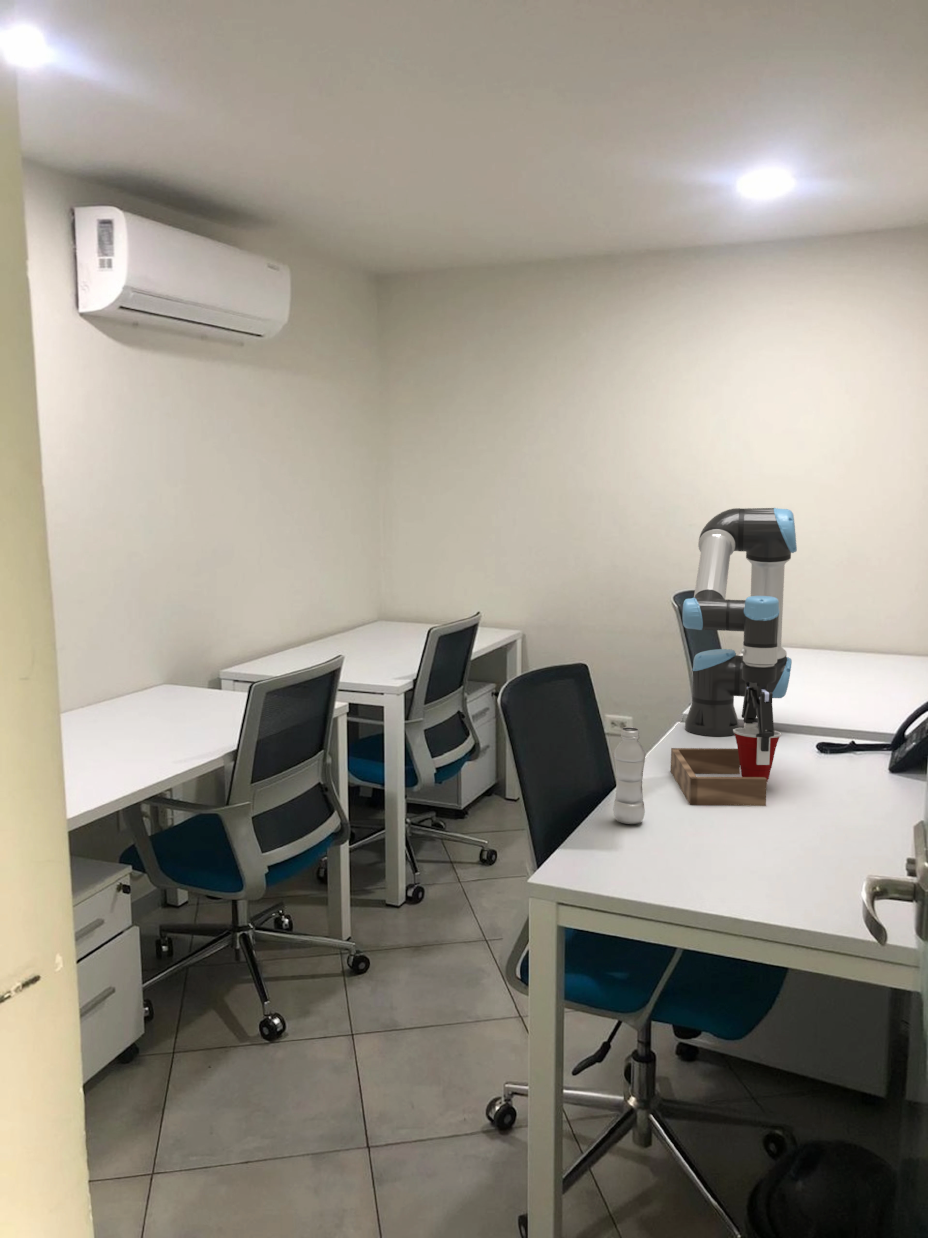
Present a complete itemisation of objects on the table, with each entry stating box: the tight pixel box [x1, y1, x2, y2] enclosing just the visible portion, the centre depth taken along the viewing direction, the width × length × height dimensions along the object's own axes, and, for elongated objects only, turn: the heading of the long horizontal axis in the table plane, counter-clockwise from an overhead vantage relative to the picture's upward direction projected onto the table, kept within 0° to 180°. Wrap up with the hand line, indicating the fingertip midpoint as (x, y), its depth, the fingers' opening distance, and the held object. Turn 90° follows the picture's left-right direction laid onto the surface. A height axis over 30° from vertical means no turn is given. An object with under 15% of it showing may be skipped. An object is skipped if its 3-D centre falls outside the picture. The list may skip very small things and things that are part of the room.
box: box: [670, 747, 768, 807], centre depth 221 cm, size 25×16×6 cm, turn 178°
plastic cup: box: [733, 727, 782, 783], centre depth 220 cm, size 11×11×12 cm
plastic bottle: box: [612, 726, 646, 825], centre depth 198 cm, size 6×7×20 cm
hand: (755, 757), depth 221 cm, fingers closed on plastic cup, 11 cm apart
